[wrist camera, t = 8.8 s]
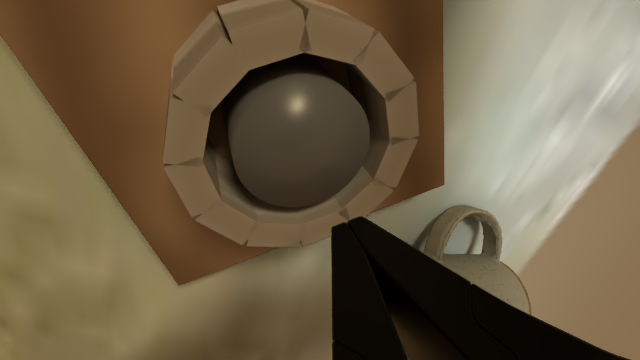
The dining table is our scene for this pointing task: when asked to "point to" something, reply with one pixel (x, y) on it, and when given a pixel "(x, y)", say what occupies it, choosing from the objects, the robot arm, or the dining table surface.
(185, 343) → the dining table surface
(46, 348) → the dining table surface
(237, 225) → the brown board with ring
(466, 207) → the ceramic mug
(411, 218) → the dining table surface
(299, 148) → the smooth gray stone
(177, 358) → the dining table surface
